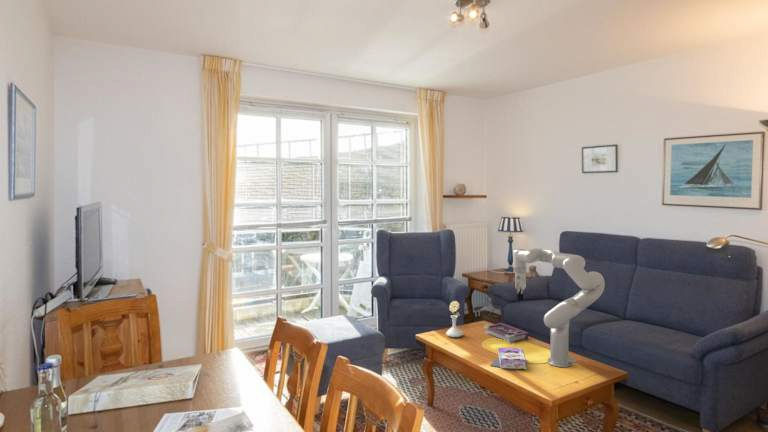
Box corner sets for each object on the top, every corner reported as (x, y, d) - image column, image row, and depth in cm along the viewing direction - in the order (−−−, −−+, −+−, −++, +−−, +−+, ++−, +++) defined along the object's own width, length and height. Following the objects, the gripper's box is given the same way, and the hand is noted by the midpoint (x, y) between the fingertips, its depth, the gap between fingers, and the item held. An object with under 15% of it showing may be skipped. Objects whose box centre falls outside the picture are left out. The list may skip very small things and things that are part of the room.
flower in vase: (443, 334, 306) (442, 298, 304) (458, 332, 309) (457, 297, 308) (451, 340, 293) (451, 303, 292) (467, 338, 297) (466, 301, 295)
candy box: (522, 348, 257) (526, 359, 241) (522, 358, 258) (526, 369, 241) (498, 347, 260) (500, 358, 244) (498, 357, 260) (500, 368, 244)
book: (483, 333, 307) (483, 326, 307) (501, 329, 314) (501, 322, 314) (509, 344, 285) (509, 336, 284) (528, 339, 292) (528, 332, 292)
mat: (520, 362, 253) (520, 361, 253) (515, 370, 243) (515, 369, 243) (495, 358, 260) (495, 357, 260) (490, 366, 249) (490, 365, 249)
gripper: (524, 272, 256) (525, 303, 257) (528, 267, 269) (528, 297, 270) (511, 271, 259) (511, 302, 260) (515, 267, 273) (516, 296, 273)
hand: (520, 300), depth 265 cm, fingers closed
